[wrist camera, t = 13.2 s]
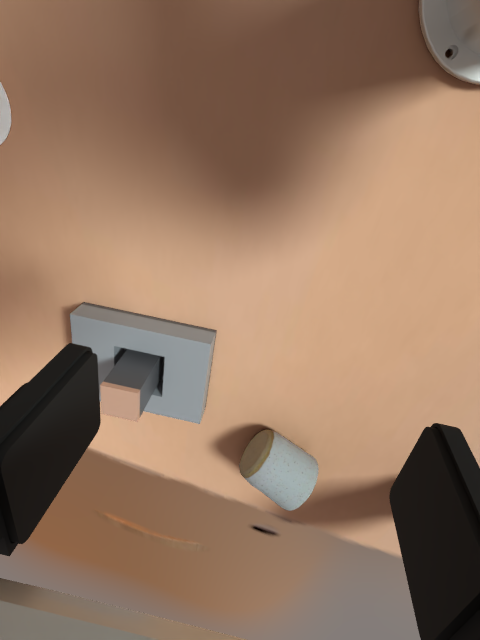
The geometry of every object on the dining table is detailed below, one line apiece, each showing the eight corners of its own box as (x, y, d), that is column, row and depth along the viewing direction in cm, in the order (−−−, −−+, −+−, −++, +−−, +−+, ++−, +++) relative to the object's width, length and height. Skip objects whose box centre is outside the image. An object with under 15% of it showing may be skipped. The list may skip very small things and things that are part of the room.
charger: (163, 350, 45) (137, 393, 38) (162, 376, 47) (137, 421, 40) (131, 343, 45) (100, 385, 38) (131, 369, 47) (101, 413, 40)
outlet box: (216, 330, 43) (210, 344, 40) (205, 407, 49) (199, 423, 46) (83, 302, 44) (69, 314, 41) (88, 381, 50) (76, 395, 47)
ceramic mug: (272, 415, 48) (266, 462, 42) (319, 446, 49) (320, 497, 43) (227, 454, 53) (216, 501, 46) (271, 481, 54) (266, 531, 48)
